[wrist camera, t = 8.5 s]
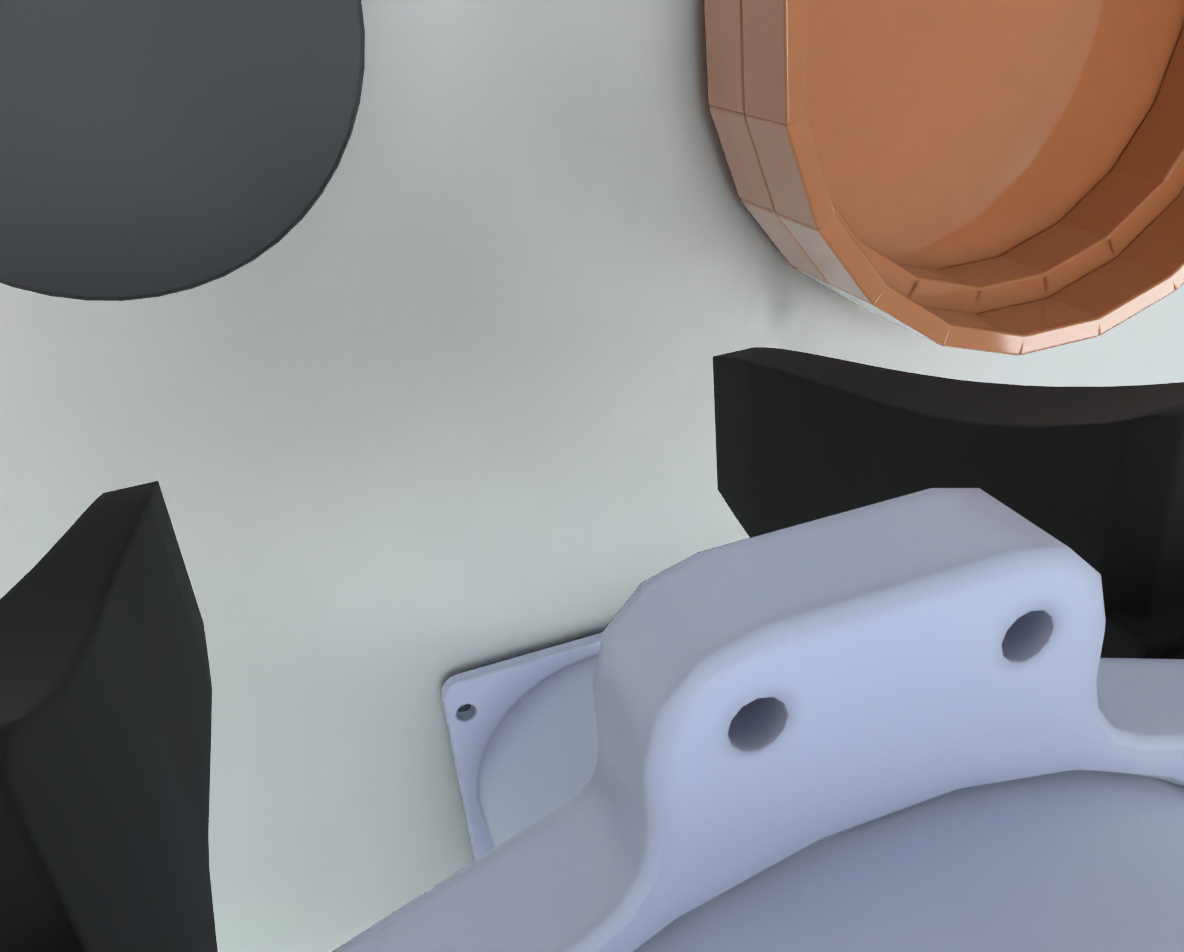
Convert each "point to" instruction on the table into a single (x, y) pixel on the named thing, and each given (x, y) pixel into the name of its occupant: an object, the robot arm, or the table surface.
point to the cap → (165, 136)
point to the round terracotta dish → (962, 156)
